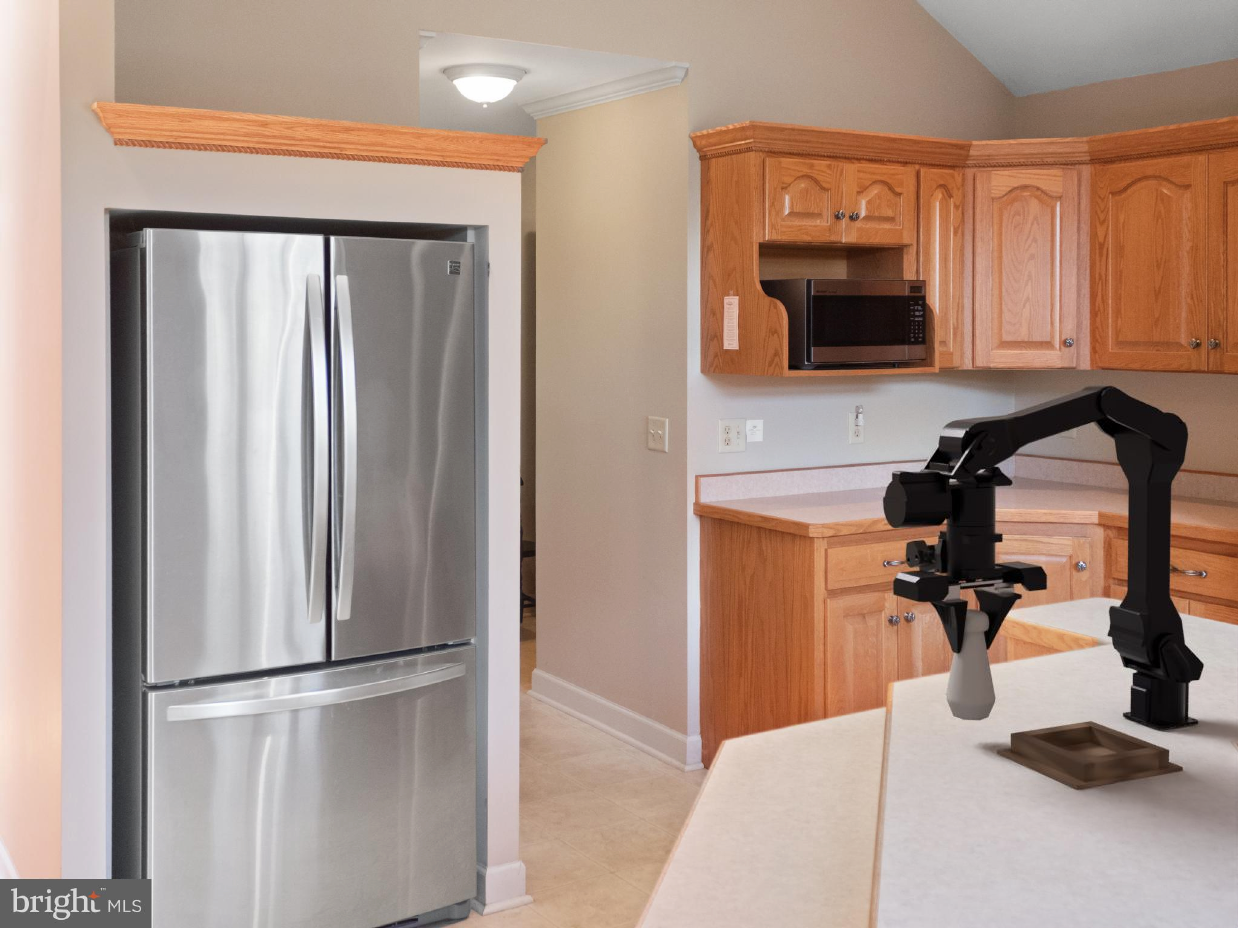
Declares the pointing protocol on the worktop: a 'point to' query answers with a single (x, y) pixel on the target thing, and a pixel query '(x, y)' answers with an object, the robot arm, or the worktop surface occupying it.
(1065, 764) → the brown flat rectangular frame
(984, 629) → the salt shaker
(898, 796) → the worktop surface
